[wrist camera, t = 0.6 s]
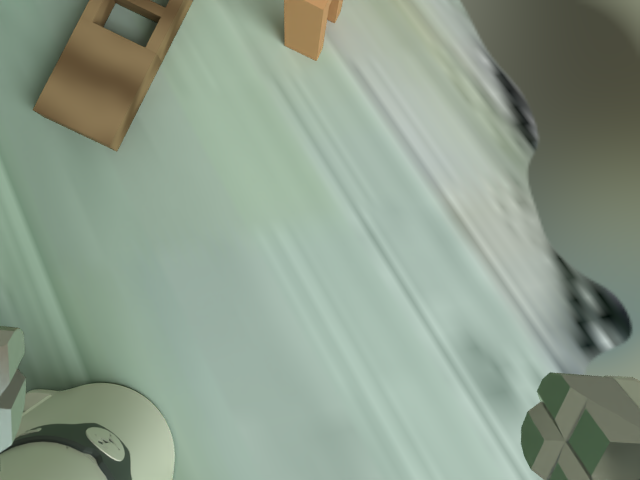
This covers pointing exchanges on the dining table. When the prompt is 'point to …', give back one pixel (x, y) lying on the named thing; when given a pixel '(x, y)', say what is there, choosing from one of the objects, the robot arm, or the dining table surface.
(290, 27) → the clip
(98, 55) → the rail
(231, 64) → the dining table surface
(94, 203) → the dining table surface
